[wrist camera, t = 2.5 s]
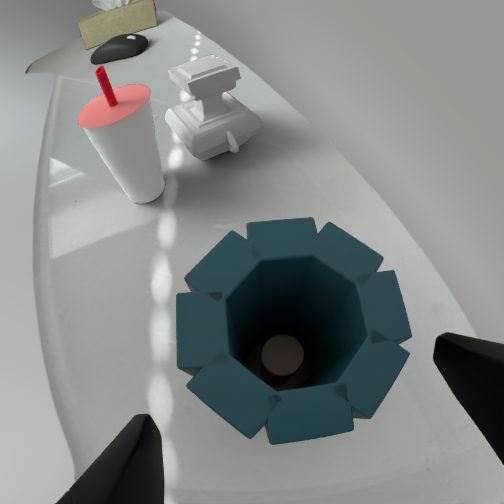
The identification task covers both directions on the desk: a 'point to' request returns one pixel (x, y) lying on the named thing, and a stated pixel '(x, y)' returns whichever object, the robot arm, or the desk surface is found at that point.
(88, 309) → the desk surface
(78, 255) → the desk surface
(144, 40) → the computer mouse
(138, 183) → the cup
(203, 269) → the sleeve
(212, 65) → the stamp
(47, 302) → the desk surface
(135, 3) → the tissue box
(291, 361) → the dowel stand
